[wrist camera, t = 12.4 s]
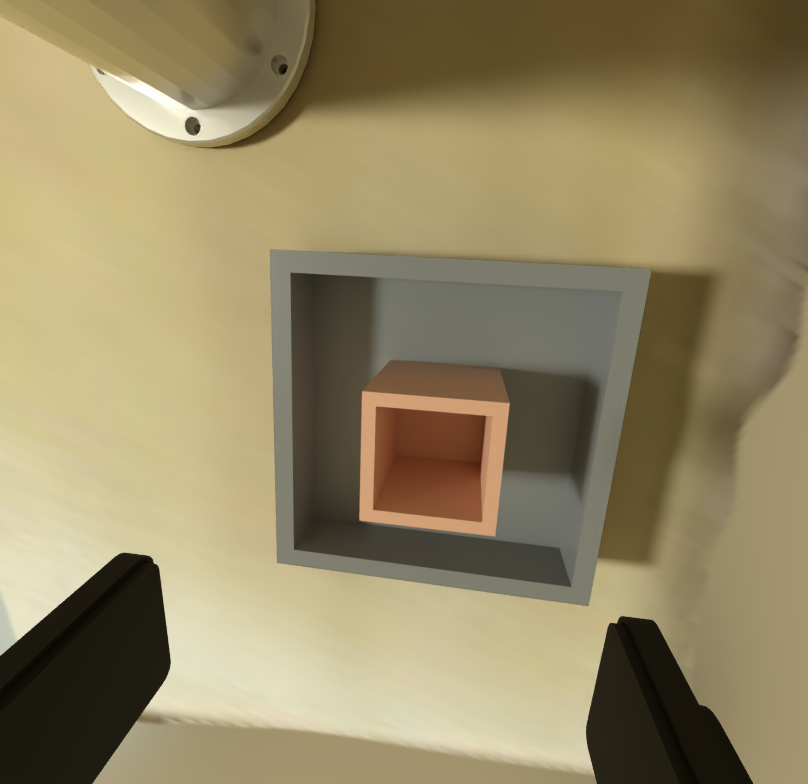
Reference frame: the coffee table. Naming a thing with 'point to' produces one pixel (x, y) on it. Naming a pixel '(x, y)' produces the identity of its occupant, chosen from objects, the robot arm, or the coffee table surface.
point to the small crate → (433, 446)
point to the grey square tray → (462, 345)
